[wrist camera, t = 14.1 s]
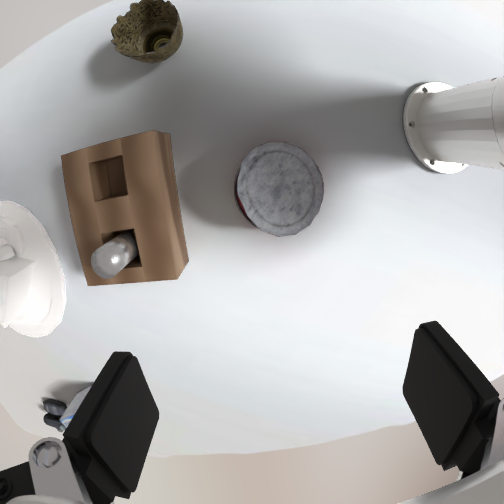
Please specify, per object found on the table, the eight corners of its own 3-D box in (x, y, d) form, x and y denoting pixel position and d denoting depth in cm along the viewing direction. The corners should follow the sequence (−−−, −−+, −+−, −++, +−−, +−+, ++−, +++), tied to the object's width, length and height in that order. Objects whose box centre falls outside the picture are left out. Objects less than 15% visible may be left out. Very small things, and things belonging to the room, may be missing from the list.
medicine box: (92, 407, 48) (76, 436, 40) (76, 392, 47) (58, 420, 39) (113, 397, 47) (96, 429, 38) (96, 380, 46) (77, 412, 37)
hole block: (169, 133, 33) (153, 130, 27) (188, 260, 38) (177, 279, 32) (86, 154, 34) (61, 155, 28) (108, 268, 39) (88, 286, 33)
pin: (145, 224, 35) (114, 246, 27) (150, 249, 36) (121, 277, 28) (123, 228, 35) (87, 249, 27) (128, 252, 36) (95, 279, 28)
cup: (159, 85, 31) (135, 69, 24) (126, 52, 30) (98, 33, 22) (205, 45, 30) (192, 19, 22) (170, 14, 28) (151, -13, 20)
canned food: (250, 153, 38) (254, 108, 29) (323, 179, 38) (347, 141, 28) (218, 231, 36) (210, 203, 26) (297, 260, 36) (318, 242, 26)
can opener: (55, 414, 51) (45, 430, 46) (44, 394, 49) (33, 409, 43) (118, 433, 51) (111, 452, 45) (110, 413, 49) (101, 433, 43)
